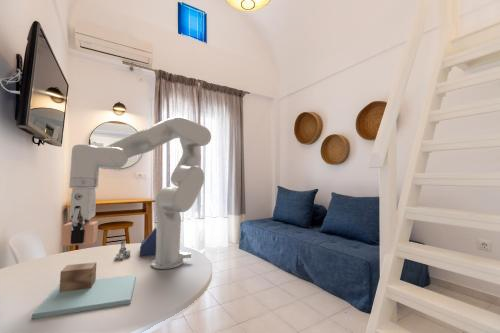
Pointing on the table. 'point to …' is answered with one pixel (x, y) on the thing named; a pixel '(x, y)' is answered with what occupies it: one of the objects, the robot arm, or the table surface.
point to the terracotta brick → (89, 233)
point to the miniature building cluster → (122, 252)
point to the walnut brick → (77, 277)
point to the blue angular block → (149, 244)
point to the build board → (88, 297)
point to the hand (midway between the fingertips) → (80, 240)
